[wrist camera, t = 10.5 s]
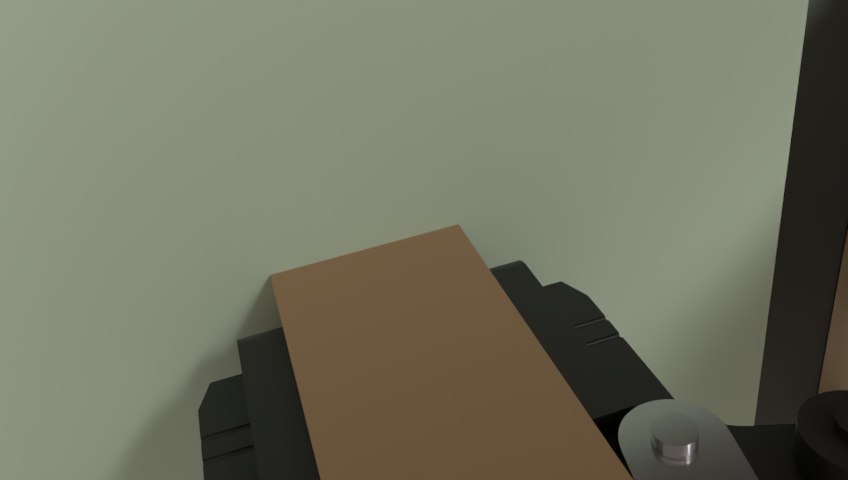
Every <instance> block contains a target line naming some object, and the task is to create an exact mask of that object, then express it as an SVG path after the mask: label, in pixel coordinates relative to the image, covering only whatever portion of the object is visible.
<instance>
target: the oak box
mask: <svg viewBox="0 0 848 480" xmlns="http://www.w3.org/2000/svg"><path fill="white" fill-rule="evenodd" d="M833 390H848V230H847V235H846V241H845V247H844V252H843V258H842V263H841V269H840V274H839V280H838V285H837V291H836V296H835V302H834V307H833V313H832V318H831V324H830V329H829V335H828V341H827V346H826V352H825V357H824V363H823V368H822V374H821V379H820V385H819V390H818V394H820V393H823V392H827V391H833Z"/></svg>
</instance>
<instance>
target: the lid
mask: <svg viewBox="0 0 848 480" xmlns="http://www.w3.org/2000/svg"><path fill="white" fill-rule="evenodd" d="M808 3H809V0H0V480H204V474H203V466H204V465H203V461H202V451H201V443H202V442H201V438H200V428H199V416H198V409H199V407H200V405H201V403H202V400H203V398H204V396H205V394H206V391H207V389H208V387H209V384H210V383H211V382H215V381H218V380H222V379H225V378H228V377H232V376H235V375H239V374H242V369H241V363H240V357H239V351H238V345H237V340H238V339H241V338H245V337H248V336H252V335H255V334H259V333H263V332H266V331H270V330H273V329H277V328H280V327H283V330H284V334H285V338H286V342H287V346H288V350H289V354H290V358H291V362H292V366H293V370H294V374H295V378H296V382H297V386H298V390H299V394H300V399H301V403H302V407H303V411H304V415H305V419H306V423H307V427H308V431H309V435H310V439H311V443H312V447H313V451H314V455H315V459H316V463H317V467H318V471H319V475H320V479H321V480H633V479H632V477H631V476H630V474H629V473H628V471H627V470H626V468H625V467H624V466H623V464H622V463H621V461H620V460H619V458H618V457H617V455H616V454H615V452H614V451H613V449H612V448H611V447H610V445H609V444H608V442H607V441H606V439H605V438H604V436H603V435H602V433H601V432H600V430H599V429H598V428H597V426H596V425H595V423H594V422H593V420H592V419H591V417H590V416H589V414H588V413H587V411H586V410H585V409H584V407H583V406H582V404H581V403H580V401H579V400H578V398H577V397H576V395H575V394H574V392H573V391H572V390H571V388H570V387H569V385H568V384H567V382H566V381H565V379H564V378H563V376H562V375H561V373H560V372H559V371H558V369H557V368H556V366H555V365H554V363H553V362H552V360H551V359H550V357H549V356H548V354H547V353H546V351H545V350H544V349H543V347H542V346H541V344H540V343H539V341H538V340H537V338H536V337H535V335H534V334H533V332H532V331H531V330H530V328H529V327H528V325H527V324H526V322H525V321H524V319H523V318H522V316H521V315H520V313H519V312H518V311H517V309H516V308H515V306H514V305H513V303H512V302H511V300H510V299H509V297H508V296H507V294H506V293H505V292H504V290H503V289H502V287H501V286H500V284H499V283H498V281H497V280H496V278H495V277H494V275H493V274H492V273H491V271H490V270H489V269H490V268H494V267H497V266H501V265H504V264H508V263H511V262H515V261H518V260H521V261H523V262H524V263H525V264H526V265H527V266H528V268H529V269H530V270H531V272H532V273H533V274H534V276H535V277H536V278H537V279H538V281H539V282H540V283H541V285H542V286H546V285H550V284H553V283H556V282H560V281H562V282H564V283H565V284H567V285H569V286H571V287H573V288H575V289H577V290H579V291H581V292H582V293H584V294H586V295H588V296H589V297H590V298H591V300H592V301H593V302H594V303H595V304H596V306H597V307H598V308H599V309H600V310H601V312H602V313H603V314H604V315H605V318H606V320H609V321H610V322H611V323H612V325H613V326H614V327H615V328H616V329H617V331H618V332H619V335H620V337H623V338H624V339H625V340H626V341H627V343H628V344H629V345H630V346H631V347H632V349H633V350H634V351H635V352H636V353H637V355H638V356H639V357H640V358H641V359H642V361H643V362H644V363H645V364H646V365H647V367H648V368H649V369H650V370H651V371H652V372H653V374H654V375H655V376H656V377H657V378H658V380H659V381H660V382H661V383H662V384H663V386H664V387H665V388H666V389H667V390H668V392H669V393H670V394H671V395H672V396H673V398H674V399H675V400H683V401H687V402H691V403H694V404H697V405H699V406H702V407H704V408H706V409H708V410H709V411H711V412H712V413H714V414H715V415H717V416H718V417H719V418H720V419H721V420H722V421H723V422H724V423H725V424H726V425H734V426H754V422H755V414H756V407H757V399H758V391H759V383H760V376H761V368H762V360H763V352H764V344H765V337H766V329H767V321H768V313H769V306H770V298H771V290H772V282H773V275H774V267H775V259H776V251H777V243H778V236H779V228H780V220H781V212H782V205H783V197H784V189H785V181H786V174H787V166H788V158H789V150H790V142H791V135H792V127H793V119H794V111H795V104H796V96H797V88H798V80H799V73H800V65H801V57H802V49H803V41H804V34H805V26H806V18H807V10H808Z"/></svg>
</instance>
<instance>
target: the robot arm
mask: <svg viewBox="0 0 848 480" xmlns="http://www.w3.org/2000/svg"><path fill="white" fill-rule="evenodd" d="M489 270H490V271H491V273H492V274H493V275H494V277H495V278H496V280H497V281H498V283H499V284H500V286H501V287H502V289H503V290H504V292H505V293H506V294H507V296H508V297H509V299H510V300H511V302H512V303H513V305H514V306H515V308H516V309H517V311H518V312H519V313H520V315H521V316H522V318H523V319H524V321H525V322H526V324H527V325H528V327H529V328H530V330H531V331H532V332H533V334H534V335H535V337H536V338H537V340H538V341H539V343H540V344H541V346H542V347H543V349H544V350H545V351H546V353H547V354H548V356H549V357H550V359H551V360H552V362H553V363H554V365H555V366H556V368H557V369H558V371H559V372H560V373H561V375H562V376H563V378H564V379H565V381H566V382H567V384H568V385H569V387H570V388H571V390H572V391H573V392H574V394H575V395H576V397H577V398H578V400H579V401H580V403H581V404H582V406H583V407H584V409H585V410H586V411H587V413H588V414H589V416H590V417H591V419H592V420H593V422H594V423H595V425H596V426H597V428H598V429H599V430H600V432H601V433H602V435H603V436H604V438H605V439H606V441H607V442H608V444H609V445H610V447H611V448H612V449H613V451H614V452H615V454H616V455H617V457H618V458H619V460H620V461H621V463H622V464H623V466H624V467H625V468H626V470H627V471H628V473H629V474H630V476H631V477H632V479H633V480H848V390H833V391H827V392H823V393H820V394H817V395H815V396H813V397H811V398H809V399H808V400H807V401H806V402H804V404H803V405H802V406H801V407H800V410H799V412H798V415H797V421H796V424H778V425H757V426H734V425H726V424H725V423H724V422H723V421H722V420H721V419H720V418H719V417H718V416H717V415H715V414H714V413H712V412H711V411H709V410H708V409H706V408H704V407H702V406H699V405H697V404H694V403H691V402H687V401H683V400H675V399H674V398H673V396H672V395H671V394H670V393H669V392H668V390H667V389H666V388H665V387H664V386H663V384H662V383H661V382H660V381H659V380H658V378H657V377H656V376H655V375H654V374H653V372H652V371H651V370H650V369H649V368H648V367H647V365H646V364H645V363H644V362H643V361H642V359H641V358H640V357H639V356H638V355H637V353H636V352H635V351H634V350H633V349H632V347H631V346H630V345H629V344H628V343H627V341H626V340H625V339H624V338H623V337H620V335H619V332H618V331H617V329H616V328H615V327H614V326H613V325H612V323H611V322H610V321H609V320H606V318H605V315H604V314H603V313H602V312H601V310H600V309H599V308H598V307H597V306H596V304H595V303H594V302H593V301H592V300H591V298H590V297H589V296H588V295H586V294H584V293H582V292H581V291H579V290H577V289H575V288H573V287H571V286H569V285H567V284H565V283H564V282H562V281H560V282H556V283H553V284H550V285H546V286H542V285H541V283H540V282H539V281H538V279H537V278H536V277H535V276H534V274H533V273H532V272H531V270H530V269H529V268H528V266H527V265H526V264H525V263H524V262H523V261H521V260H518V261H515V262H511V263H508V264H504V265H501V266H497V267H494V268H490V269H489ZM237 345H238V351H239V357H240V363H241V369H242V374H239V375H235V376H232V377H228V378H225V379H222V380H218V381H215V382H211V383H210V384H209V387H208V389H207V391H206V394H205V396H204V398H203V400H202V403H201V405H200V407H199V409H198V416H199V428H200V438H201V442H202V443H201V451H202V461H203V465H204V466H203V474H204V480H321V479H320V475H319V471H318V467H317V463H316V459H315V455H314V451H313V447H312V443H311V439H310V435H309V431H308V427H307V423H306V419H305V415H304V411H303V407H302V403H301V399H300V394H299V390H298V386H297V382H296V378H295V374H294V370H293V366H292V362H291V358H290V354H289V350H288V346H287V342H286V338H285V334H284V330H283V327H280V328H277V329H273V330H270V331H266V332H263V333H259V334H255V335H252V336H248V337H245V338H241V339H238V340H237Z"/></svg>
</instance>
